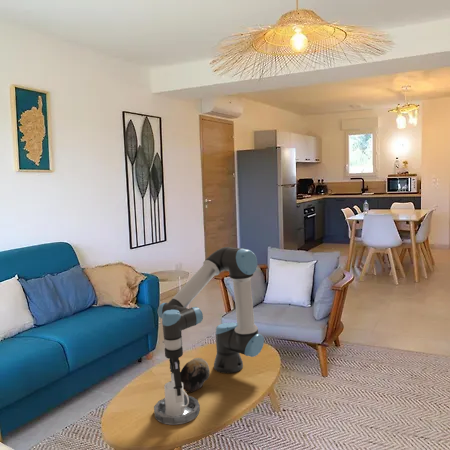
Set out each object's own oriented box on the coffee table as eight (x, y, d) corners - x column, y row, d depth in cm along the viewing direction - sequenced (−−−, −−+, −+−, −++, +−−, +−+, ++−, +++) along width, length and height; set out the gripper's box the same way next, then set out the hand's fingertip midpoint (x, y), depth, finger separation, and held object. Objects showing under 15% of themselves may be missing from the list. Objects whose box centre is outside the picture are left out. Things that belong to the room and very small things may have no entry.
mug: (195, 412, 197) (193, 385, 195) (181, 421, 190) (179, 393, 189) (174, 404, 204) (173, 378, 203) (161, 412, 197) (159, 386, 196)
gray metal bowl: (195, 398, 210) (194, 392, 209) (203, 420, 191) (202, 413, 191) (153, 405, 205) (152, 398, 205) (157, 428, 187) (156, 421, 186)
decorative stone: (202, 380, 227) (200, 351, 226) (214, 385, 221) (213, 355, 220) (174, 394, 215) (173, 363, 213) (187, 400, 209) (186, 368, 207)
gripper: (161, 337, 206) (165, 382, 209) (167, 360, 182) (171, 410, 185) (178, 335, 207) (181, 379, 210) (186, 357, 183) (190, 407, 186)
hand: (177, 394), depth 198 cm, fingers open, 13 cm apart
